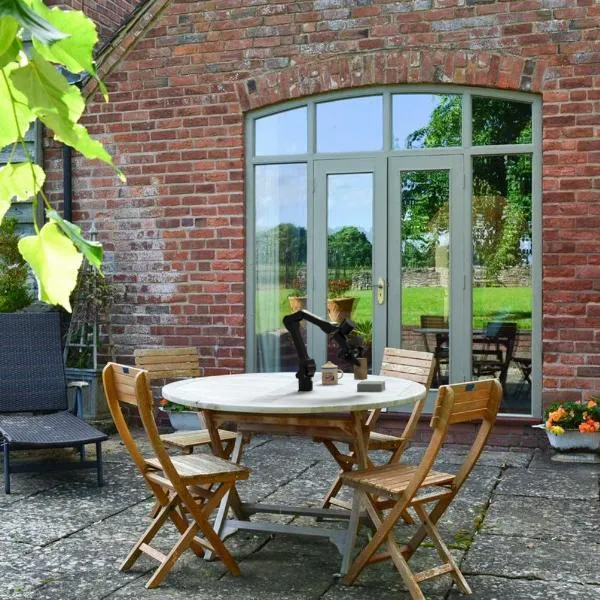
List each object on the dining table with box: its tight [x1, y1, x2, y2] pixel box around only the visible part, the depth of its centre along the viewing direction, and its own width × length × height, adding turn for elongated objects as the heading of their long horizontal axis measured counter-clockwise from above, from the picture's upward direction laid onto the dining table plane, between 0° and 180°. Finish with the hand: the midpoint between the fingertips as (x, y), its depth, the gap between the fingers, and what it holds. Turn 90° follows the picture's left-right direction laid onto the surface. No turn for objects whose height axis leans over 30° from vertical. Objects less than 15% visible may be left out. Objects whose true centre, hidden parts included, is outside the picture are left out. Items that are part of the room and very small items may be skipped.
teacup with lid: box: [320, 361, 344, 385], centre depth 449 cm, size 12×9×12 cm
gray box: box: [356, 380, 386, 392], centre depth 416 cm, size 12×12×4 cm
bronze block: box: [353, 357, 368, 381], centre depth 401 cm, size 4×4×10 cm
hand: (362, 365), depth 400 cm, fingers closed on bronze block, 4 cm apart
